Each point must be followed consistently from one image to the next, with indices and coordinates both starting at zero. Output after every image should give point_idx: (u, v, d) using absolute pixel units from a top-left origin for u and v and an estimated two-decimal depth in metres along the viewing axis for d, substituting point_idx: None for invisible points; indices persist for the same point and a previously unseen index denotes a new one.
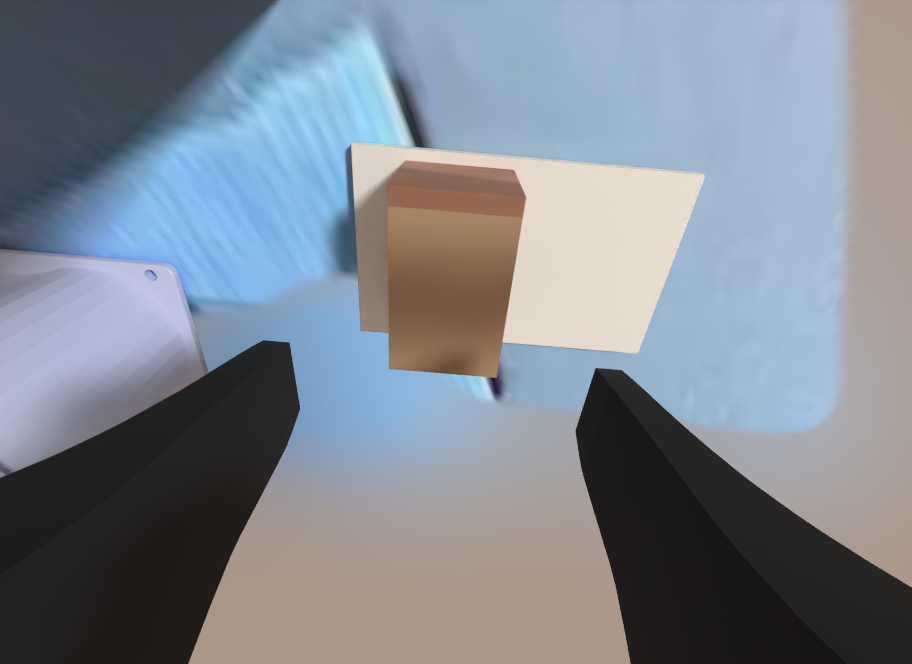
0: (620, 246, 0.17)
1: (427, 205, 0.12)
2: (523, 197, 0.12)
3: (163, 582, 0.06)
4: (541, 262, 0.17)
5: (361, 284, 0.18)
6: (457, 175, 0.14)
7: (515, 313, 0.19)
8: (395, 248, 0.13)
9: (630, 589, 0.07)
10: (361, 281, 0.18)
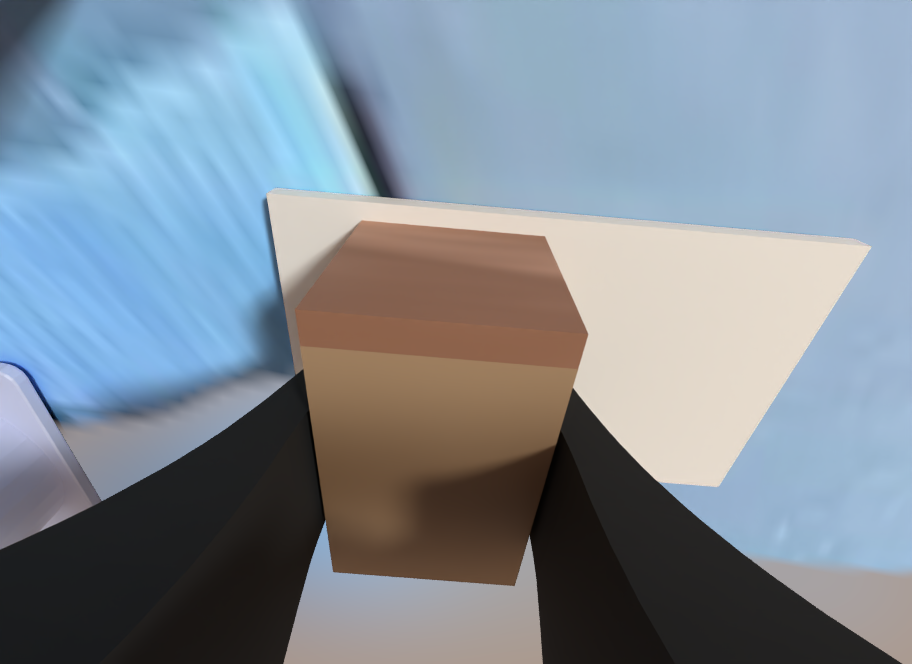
0: (710, 350, 0.10)
1: (381, 346, 0.06)
2: (582, 333, 0.06)
3: (269, 590, 0.06)
4: (583, 370, 0.11)
5: None
6: (446, 261, 0.07)
7: None
8: (324, 413, 0.07)
9: (545, 582, 0.07)
10: None
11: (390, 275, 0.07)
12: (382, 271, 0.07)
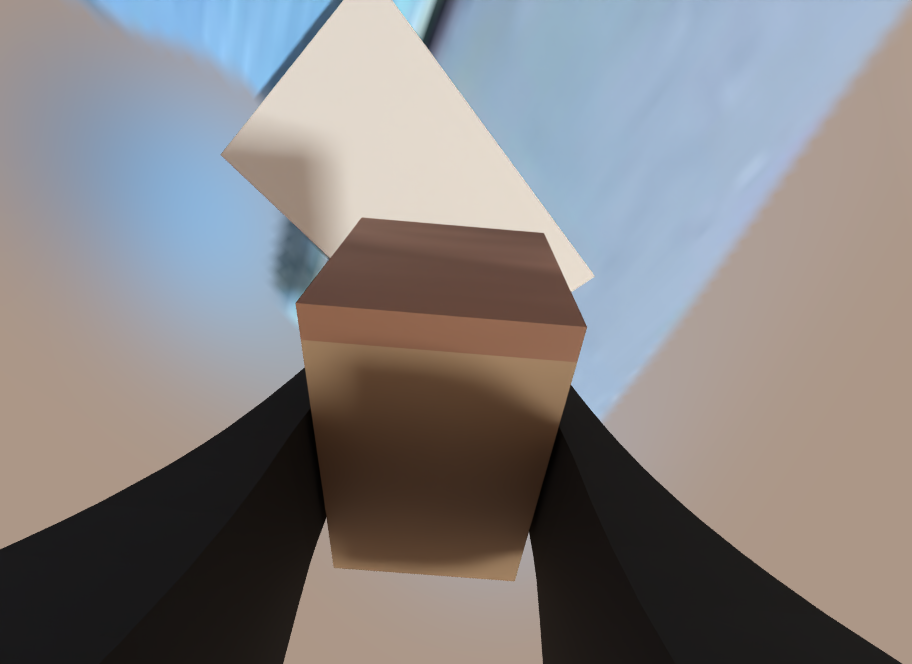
0: None
1: (381, 339, 0.06)
2: (580, 326, 0.06)
3: (269, 590, 0.06)
4: None
5: (261, 110, 0.14)
6: (446, 256, 0.07)
7: None
8: (325, 407, 0.07)
9: (545, 583, 0.07)
10: (264, 107, 0.14)
11: (390, 270, 0.07)
12: (382, 266, 0.07)
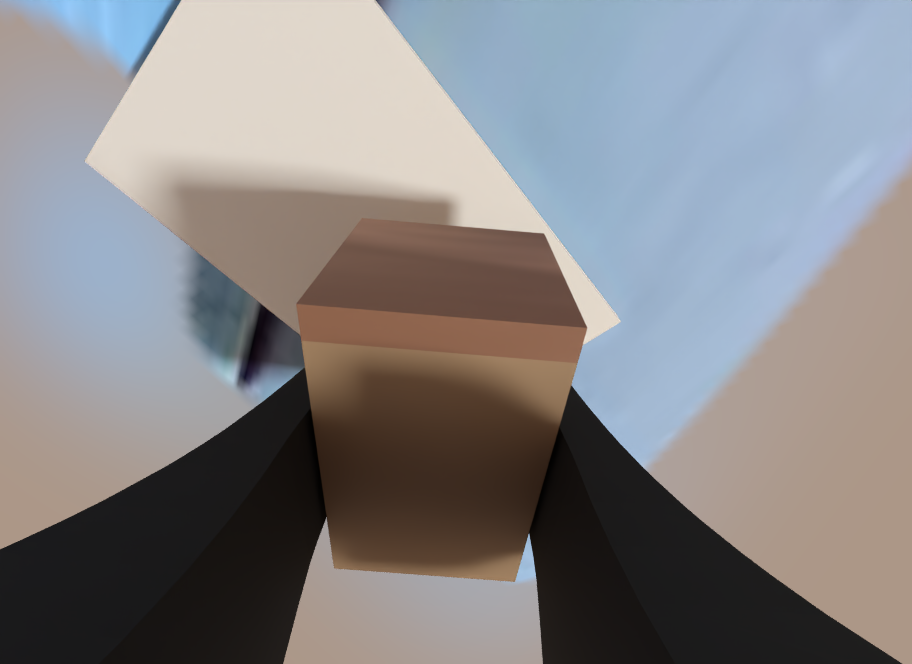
0: None
1: (382, 339, 0.06)
2: (581, 327, 0.06)
3: (269, 590, 0.06)
4: None
5: (132, 95, 0.10)
6: (446, 257, 0.07)
7: None
8: (325, 408, 0.07)
9: (545, 582, 0.07)
10: (136, 91, 0.10)
11: (390, 271, 0.07)
12: (383, 267, 0.07)
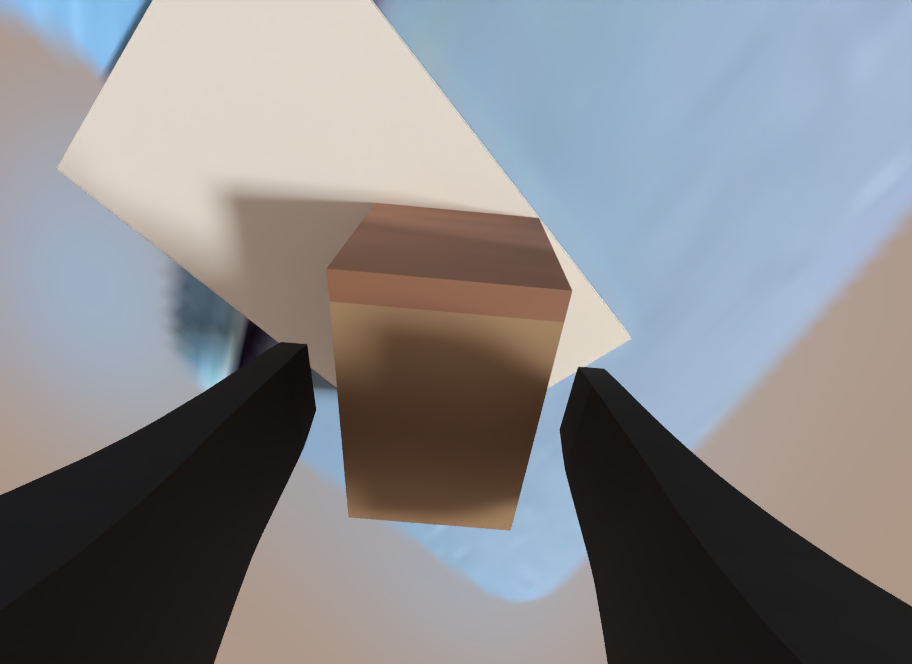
0: None
1: (398, 300, 0.07)
2: (567, 290, 0.07)
3: (191, 584, 0.06)
4: None
5: (105, 98, 0.09)
6: (452, 235, 0.09)
7: (326, 325, 0.12)
8: (347, 363, 0.08)
9: (608, 587, 0.07)
10: (109, 93, 0.09)
11: (404, 245, 0.08)
12: (397, 242, 0.08)
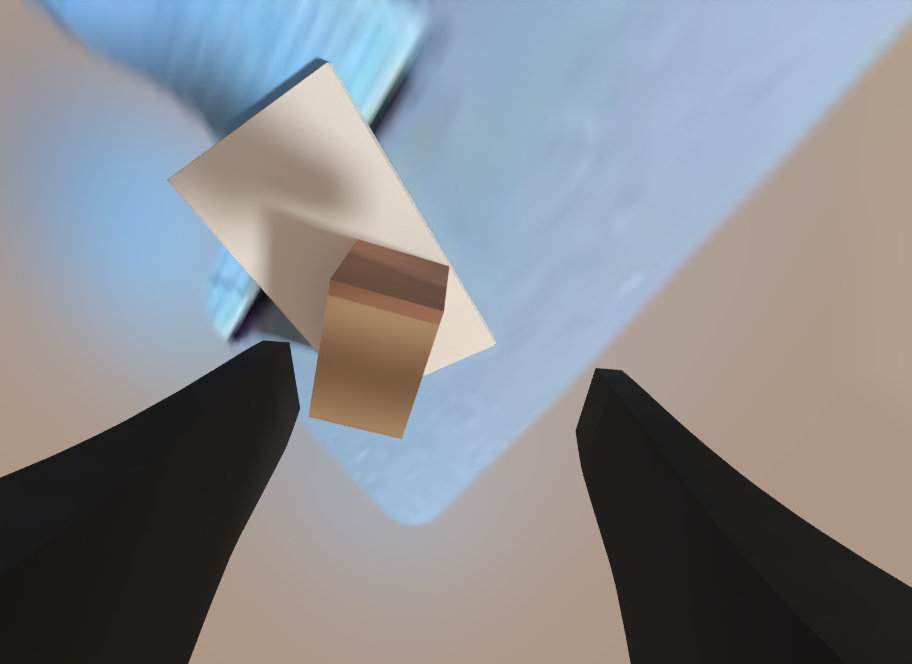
0: None
1: (361, 300, 0.14)
2: (441, 311, 0.14)
3: (163, 582, 0.06)
4: None
5: (212, 152, 0.16)
6: (396, 270, 0.16)
7: (312, 302, 0.19)
8: (329, 326, 0.15)
9: (630, 589, 0.07)
10: (215, 150, 0.16)
11: (369, 272, 0.15)
12: (366, 269, 0.15)
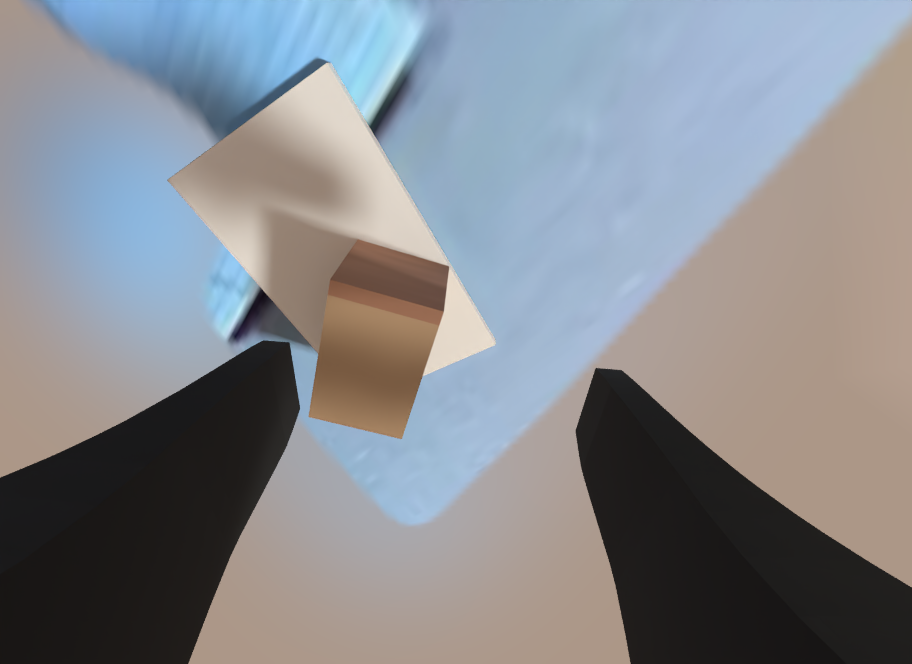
0: None
1: (361, 300, 0.14)
2: (441, 311, 0.14)
3: (163, 582, 0.06)
4: None
5: (212, 152, 0.16)
6: (396, 270, 0.16)
7: (312, 302, 0.19)
8: (329, 326, 0.15)
9: (630, 589, 0.07)
10: (215, 150, 0.16)
11: (369, 272, 0.15)
12: (366, 269, 0.15)
